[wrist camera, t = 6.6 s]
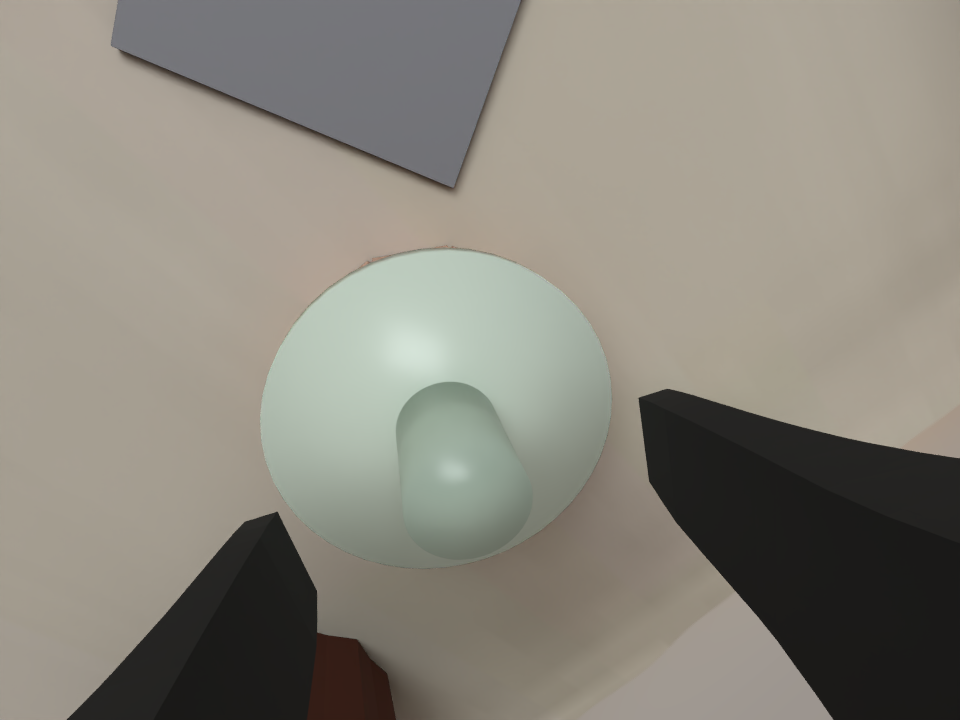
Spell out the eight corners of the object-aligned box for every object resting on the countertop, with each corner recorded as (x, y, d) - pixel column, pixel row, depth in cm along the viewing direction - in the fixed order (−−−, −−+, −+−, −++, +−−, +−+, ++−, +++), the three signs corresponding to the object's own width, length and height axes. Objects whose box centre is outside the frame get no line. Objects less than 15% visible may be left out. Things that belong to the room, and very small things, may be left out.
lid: (600, 225, 16) (690, 250, 11) (603, 518, 20) (669, 620, 15) (220, 274, 14) (151, 326, 10) (309, 581, 18) (289, 715, 14)
